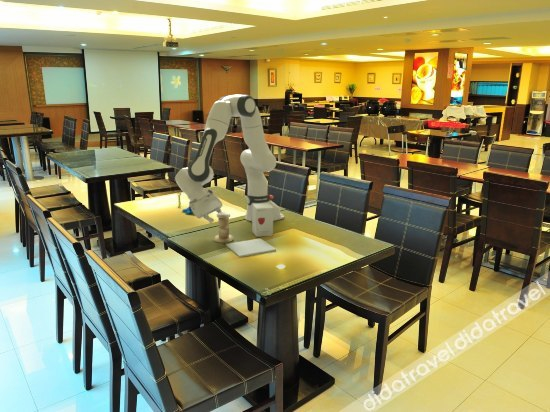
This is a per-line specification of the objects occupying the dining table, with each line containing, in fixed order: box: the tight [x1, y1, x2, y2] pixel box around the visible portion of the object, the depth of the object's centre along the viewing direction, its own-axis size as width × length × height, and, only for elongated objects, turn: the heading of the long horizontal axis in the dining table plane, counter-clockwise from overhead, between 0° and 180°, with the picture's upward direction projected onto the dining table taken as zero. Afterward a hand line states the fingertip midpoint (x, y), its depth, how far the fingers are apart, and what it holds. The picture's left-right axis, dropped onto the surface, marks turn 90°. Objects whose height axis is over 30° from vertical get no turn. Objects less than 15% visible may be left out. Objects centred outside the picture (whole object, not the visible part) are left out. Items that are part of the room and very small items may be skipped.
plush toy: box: [181, 205, 196, 217], centre depth 251 cm, size 17×17×8 cm
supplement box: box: [251, 203, 274, 238], centre depth 213 cm, size 9×9×15 cm
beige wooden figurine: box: [214, 211, 234, 244], centre depth 203 cm, size 9×9×13 cm
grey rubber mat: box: [225, 237, 277, 258], centre depth 195 cm, size 18×16×1 cm
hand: (217, 219), depth 204 cm, fingers open, 8 cm apart
